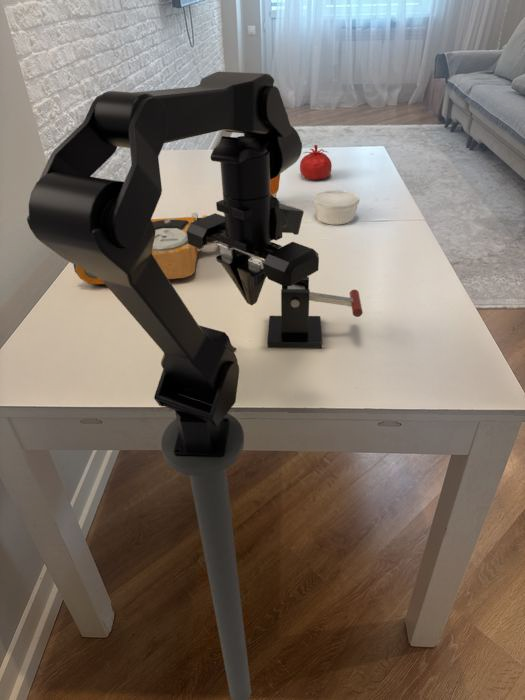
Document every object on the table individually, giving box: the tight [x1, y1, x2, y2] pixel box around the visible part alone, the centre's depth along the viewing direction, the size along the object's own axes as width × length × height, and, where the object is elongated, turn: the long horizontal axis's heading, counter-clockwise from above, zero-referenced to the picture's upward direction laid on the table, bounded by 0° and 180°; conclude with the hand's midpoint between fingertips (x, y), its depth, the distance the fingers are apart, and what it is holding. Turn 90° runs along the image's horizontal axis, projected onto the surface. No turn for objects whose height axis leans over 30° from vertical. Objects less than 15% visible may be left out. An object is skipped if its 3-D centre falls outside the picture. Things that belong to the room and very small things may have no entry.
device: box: [72, 212, 218, 286], centre depth 105 cm, size 23×8×30 cm
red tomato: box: [299, 144, 333, 181], centre depth 147 cm, size 10×10×9 cm
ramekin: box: [313, 190, 360, 226], centre depth 122 cm, size 11×11×5 cm
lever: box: [287, 284, 364, 318], centre depth 80 cm, size 12×6×2 cm, turn 87°
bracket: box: [266, 276, 323, 349], centre depth 81 cm, size 9×8×10 cm
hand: (252, 303), depth 68 cm, fingers closed
